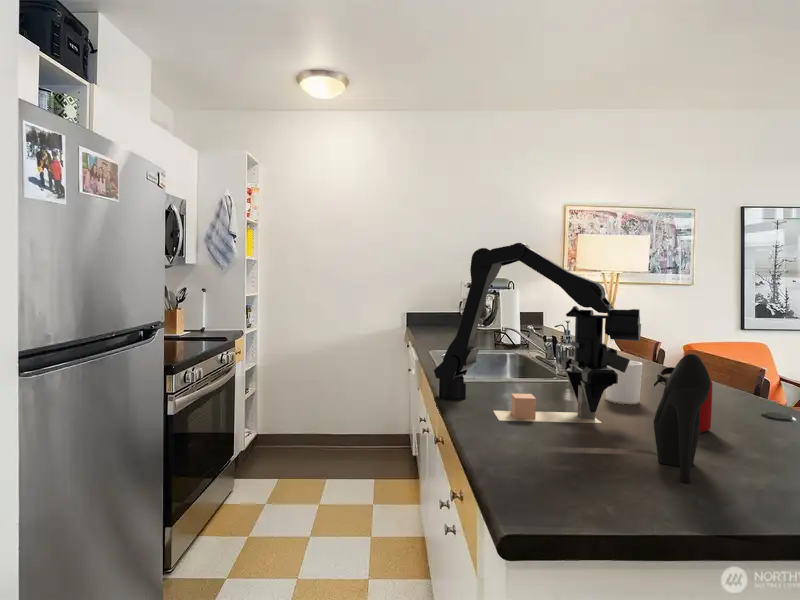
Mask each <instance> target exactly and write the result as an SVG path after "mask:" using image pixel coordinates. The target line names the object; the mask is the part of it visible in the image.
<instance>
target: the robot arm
mask: <svg viewBox="0 0 800 600" xmlns="http://www.w3.org/2000/svg"><path fill="white" fill-rule="evenodd" d="M472 253H473V254H472V256H471V260H470V269H469V270H470V273H469V274H470V286H469V290H468V292H467V296H466V300H465V303H464V307H463V310H462V313H461V318H460V322H459V325H458V328H457V333H456V335H455V337H454V338H453V340H452V341H451V342H450V344H449V346H448V348H447V349H446V351H445V354H444V356H443V359H442V362H440V363H439V365H438V366H437V367H435V368H434V369H433V372H434V376H435V378H436V379H438V387H437V388H438V390H437V391H438V393H437V394H438V400H445V401H459V400H466V399H467V397H466V396H467V395H466V394H467V384H466V382H465V380H464V378H465V377H464V376H466V374H467V372H468V370H469V369H470V368H472V367H473V365H474V364H476V363H477V356H478V354H479V352H480V347H476V346H475V345H476V344H475V337H476V333H477V330H478V328H479V327H478V326H479V323H480V320H481V317H482V314H483V313H482V312H483V309H484V307H485V303H486V299H487V297H488V296H487V295H488V292H489V288H490V286H491V285H492V284H493V282H494V281H495V279H496V278H497V276H498V274H499V273H500V270H501V268H502V267H504V266H507V265H508V266H509V265H511V264H514V263H517V262H521V263H522V264H523V265H525V266H527V267H529V268H530V269H532V270H533V271H535V272H537V273H538V274H540V275H542V276H543V277H545V278H546V279H548V280H549V281H551V282H552V283H554V284H555V285H557V286H559V287H560V288H561V289H562V290H563V291H564V292H565V293H566V294H567V295H568V296H569V298H571V299H572V300H573V301H574V302H575V303H576V304H578V305H579V306H580V307H582V308H586V309H579V307H578V306H577V305H575V306H572V308H571V309H570V311H568V312H566V314H565V317H570V318H574V319H575V321H574V322H575V323H574V324H575V325H574V340H572V341H571V346H572V347H574V350H573V351H574V353H573V355H574V356H567V355H566V356H564V357H563V358H562V359H561V368H562V369H563V370H564V374H565V375H566V378H567V380H568V382H569V384H570V385H569V386H570V387H571V390H572V393H573V394H574V397H575V399H576V402H577V403H578V385H582V388H583V391H584V394H585V398H586V401H587V404H588V407H589V410H590V412H591V413H595V414H596V412H597V409H598V407H599V404H600V401H601V398H602V395H603V393H604V391H606V388H608V387H609V386H612V385H613V384H617V383H618V374H617V373H616V372H615V371H614V370H612V369H610V368H608V367H607V365H608V366H610V367H612V368H614V369H617V370H619V371H621V372H623V373H625V371H626V368H627V366H628V364H629V361H630V359H629V358H627V357H624V356H621V355H619V354H618V351H617V350H616V349H614V348H611V347H609V346H608V345H606V344H607V343H605V342H603V337H604V336H603V334H605V335H607V336H609V339H610V340H614V341H615V340H616V341H617V340H618V341H630V342H640V340H641V335H642V334H641V330H642V324H641V316H640V313H641V310H640V309H639V308H630V309H625V308H624V309H622V308H621V309H619V308H618V309H617V308H614V307H613V305H612V304H611V302H610V301H609V300H608V299H607V297H606V290H605V288H604V286H603V285H602V284H601V283H599V282H598V281H594V280H592V279H589V278H586V277H585V276H581V275H578V274H577V273H573V272H571V271H570V270H568V269H566V268H564V267H563V266H561V265H559V264H558V263H556V262H554V261H552V260H550V258H548V257H546V256H544V255H543V254H541V253H539V252H538V251H536V250H535V249H533V248H531V247H530V246H529V245H528V244H526V243H523V242H516V243H514V244H510V245H504V246H500V247H496V248H485V247H481V248H478V249H476V250H474V252H472ZM589 308H591V309H589ZM592 309H593V310H592ZM594 311H595V312H597V313H598V314H595V313H594ZM602 314H603V315H602ZM604 314H607V315H604ZM604 319H605V320H604ZM604 321H605V322H604ZM603 329H604V330H603Z"/></svg>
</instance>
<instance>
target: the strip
mask: <svg viewBox="0 0 800 600" xmlns="http://www.w3.org/2000/svg"><path fill="white" fill-rule="evenodd" d="M493 413H494V415H495V416H496V418H497V420H498V421H501V422H502V421H504V422H507V421H508V422H540V423H543V422H544V423H545V422H547V423H550V422H551V423H583V424H584V423H585V424H603V423H602V422H601V421H600V420H599V419H597V417H596V412H595V413H591V412H590V410H589V407H588V404H587V401H586V398H585V394H584V391H583V388H582V385H578V402H577V412H571V411H570V412H568V411H566V412H561V411H559V412H558V411H536V419H515V418H514V417H513V415H512V414H511V410H493Z"/></svg>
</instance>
